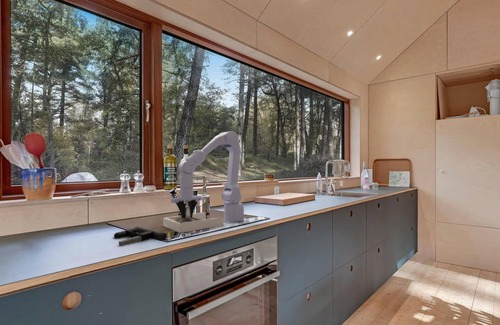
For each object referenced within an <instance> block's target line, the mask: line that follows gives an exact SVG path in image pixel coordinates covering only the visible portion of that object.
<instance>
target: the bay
mask: <svg viewBox="0 0 500 325" xmlns="http://www.w3.org/2000/svg"><path fill="white" fill-rule="evenodd" d="M193 217H196V218H200V219H203V220H198V221H191V222H184V223H179V222H177V221H174V220H171V219H175V218H181V215H175V216H167V217H166V216H165V217H163V219H162V220H163V222H162V224H163V227H165V228H167V229H170V230H172V231H174V232H176V233H180V234H181V233H187V232H194V231H199V230H204V229H210V228H211V229H212V228H216V227H217V228H218V227H221V226H224V225H225V224H224V223H225V222H224V216H218V217H213V218H207V213H206V212H205V211H203V212H198V213H193Z"/></svg>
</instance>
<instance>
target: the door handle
mask: <svg viewBox="0 0 500 325" xmlns="http://www.w3.org/2000/svg"><path fill="white" fill-rule="evenodd" d="M167 236H168V235H167V233H166V232H165V231H159V230H155V229H151V228H148V227H143V226H138V225H137V226H135V227H133V228H130V229H126V230H122V231H118V232H115V233H114V234H113V238H114V239H122V238H125V237H127V238H126V239H123V240H120V241H118V246H121V247H122V246H123V247H124V246H127V245H131V244H135V243H139V242H146V241H149V240H151V239H156V240H159V241H162V240H166V239H167V238H168V237H167Z"/></svg>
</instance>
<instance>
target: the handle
mask: <svg viewBox="0 0 500 325" xmlns="http://www.w3.org/2000/svg"><path fill="white" fill-rule="evenodd" d="M187 221H191V209H190V206H188V205H186V208H185V219H184V222H187Z"/></svg>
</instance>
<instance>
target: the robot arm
mask: <svg viewBox="0 0 500 325" xmlns="http://www.w3.org/2000/svg"><path fill="white" fill-rule="evenodd" d="M239 138H240V137H239V135H238V134H237V133H236V132H235V131H233V130H230V131H224V132H220V133H219V134H218V135H215V136H214V137H213V139H211V140H210V141H209V142H208V143H207V144H206V145H205V146H204V147H203V148H202V149H197V150H196V149H194V150H193V151H192V154H191V155H189V156H188V157H185V160H183V161H181V162H179V164H178V167H177V170H178V172H179V175H180V176H179V193H180V194H179V196H177V197H172V198H170V204H175V203H176V206H177V208H178V210H179V213H180V216H181V218H183V219H185V208H186V206H190V209H191V218H192V216H193V214H194V212H195V209H196V206H197V205H198V201H200V202H201V201H203V196H202V195H194V172H195V170H196V168H197V167H198V166H200V165H201V164H202V163H203V162H204V161H205V160H206V159H207V155H208V154H210V153H211V152H212V151H213V150H215V149H216V148H218V146H222V147H224V148H225V149H226V150H227V151H228V152H229V155H228V165H227V174H226V183H225V185H224V186H223V190H222V192H221V194H220V195H221V199H222V200H223V217H224V223H227V224H232V223H240V222H244V221H246V220H245V210H244V204H243V203H242V202H240V201H241V199H242V193H241V187H240V186H239V174H240V173H239V172H240V161H241V160H240V159H241V150H242V148H241V145H240V142H239ZM186 202H187V203H186Z"/></svg>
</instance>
